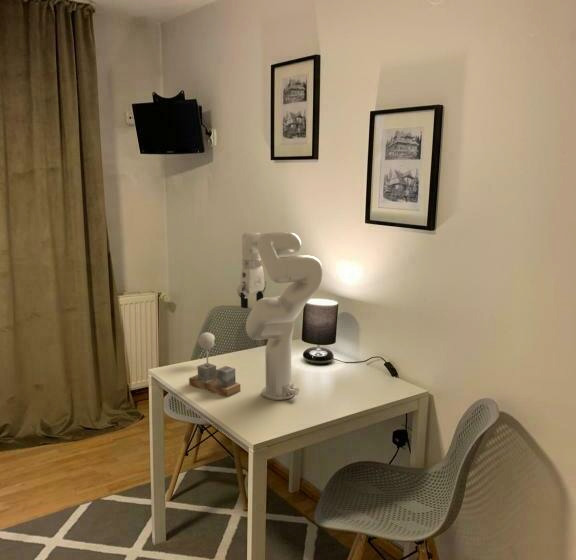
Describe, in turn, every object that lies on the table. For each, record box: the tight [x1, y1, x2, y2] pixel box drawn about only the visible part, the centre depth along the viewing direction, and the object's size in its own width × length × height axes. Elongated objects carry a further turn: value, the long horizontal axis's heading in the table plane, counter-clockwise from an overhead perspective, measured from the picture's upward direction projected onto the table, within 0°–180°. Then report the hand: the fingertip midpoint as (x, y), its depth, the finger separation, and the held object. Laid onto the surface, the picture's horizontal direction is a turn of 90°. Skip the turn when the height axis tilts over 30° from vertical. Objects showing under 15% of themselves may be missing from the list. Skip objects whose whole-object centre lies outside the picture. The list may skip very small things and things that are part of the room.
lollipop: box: [197, 331, 216, 363], centre depth 237 cm, size 7×7×15 cm
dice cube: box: [196, 362, 217, 382], centre depth 216 cm, size 5×5×5 cm
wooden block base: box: [188, 365, 241, 398], centre depth 214 cm, size 20×7×9 cm, turn 54°
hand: (252, 305), depth 227 cm, fingers open, 9 cm apart
